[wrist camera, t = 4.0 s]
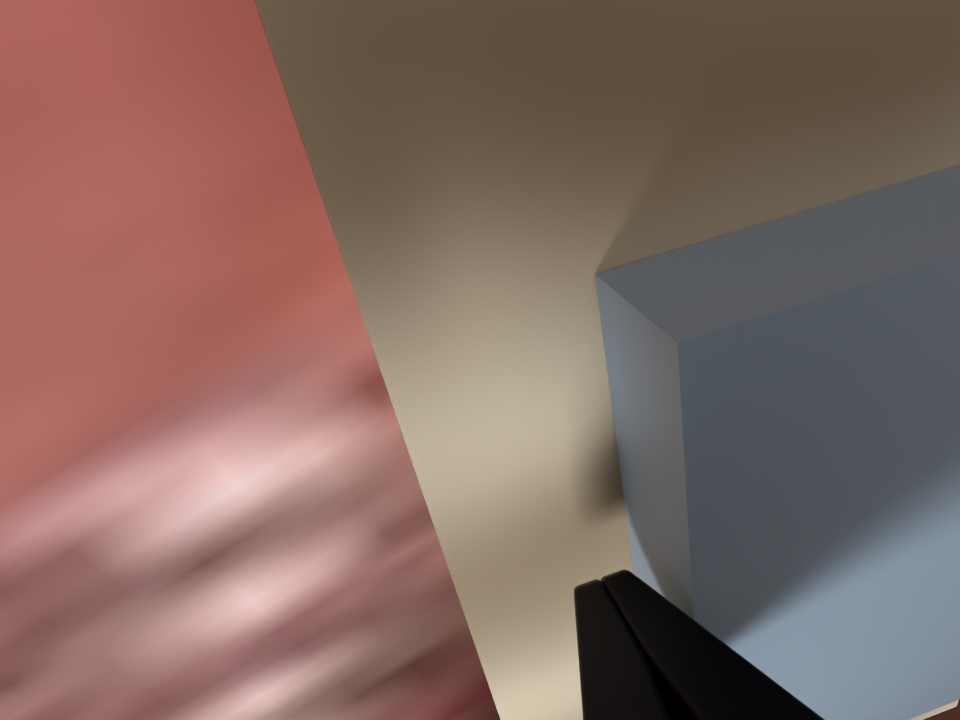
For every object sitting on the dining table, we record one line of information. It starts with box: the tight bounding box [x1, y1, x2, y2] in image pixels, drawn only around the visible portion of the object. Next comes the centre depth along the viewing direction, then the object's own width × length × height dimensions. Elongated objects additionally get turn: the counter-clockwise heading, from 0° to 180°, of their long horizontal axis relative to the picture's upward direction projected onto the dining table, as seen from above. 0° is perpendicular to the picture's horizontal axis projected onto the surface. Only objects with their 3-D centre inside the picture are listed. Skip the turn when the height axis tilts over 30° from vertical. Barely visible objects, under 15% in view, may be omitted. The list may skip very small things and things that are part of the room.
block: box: [595, 164, 960, 720], centre depth 9 cm, size 9×6×2 cm, turn 13°
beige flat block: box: [254, 0, 960, 720], centre depth 12 cm, size 20×11×4 cm, turn 12°
